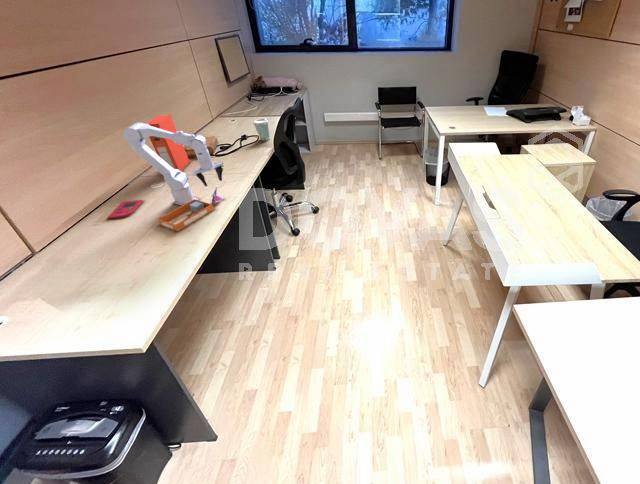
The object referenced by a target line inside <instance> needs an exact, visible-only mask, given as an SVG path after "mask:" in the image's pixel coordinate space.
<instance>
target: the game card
mask: <svg viewBox="0 0 640 484" xmlns="http://www.w3.org/2000/svg"><path fill="white" fill-rule="evenodd" d="M214 188H215V189H214V191H213V193H212V194H211V204H212V206H213V207H214V204H215V201H216V202H220V201H224V198H223V197H222V195H219V194H218V193H217V190H218V187H217V186H216V187H214Z"/></svg>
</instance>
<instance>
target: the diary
mask: <svg viewBox="0 0 640 484" xmlns="http://www.w3.org/2000/svg"><path fill="white" fill-rule="evenodd" d="M204 137H205V139H206V144H205V145H206V146H207V149H208V152H209V154H210V156H211V155H214V154H215V151H216V149H217V147H218V144H219V140H218V138H217V137H216V136H215V135H213V136H204ZM183 147H184V149H185V152H186V154H187V156H188V158H194V157H195V158H197V156H196V153H195V151H194V149H192V148H191V147H190V146H186V145H183Z"/></svg>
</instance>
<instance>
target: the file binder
mask: <svg viewBox="0 0 640 484" xmlns="http://www.w3.org/2000/svg"><path fill="white" fill-rule="evenodd" d="M145 124H148V125H150V126H153V127H156V128H159V129H163V130H166V131H169V132H173V133H175V132H177V131H178V130H177V127H176V125H175V123H174V120H173V117H172V115H171V114H165V115H164V114H163V115H156V116H155V117H153V118H152V119H150V120H148V121H147V122H145ZM148 138H149V140H150V142H151V144H152V146H153V148H154V150H155V153H156V154H157V155H158V156H159V157H160V158H161V159H163V160H164V161H165V162H166V163H167V164H168V165H170V166H171V167H172V168H173V169H178V170H179V171H181V172H182V171H184V169H185V168H186V167H187V166H188V165H189V164H190V159H189V157H188V156H187V154H186V152H185V149H184V145H182V144H178V143H175V142H174V141H173V140H171V139H166V138H161V137H156V136H150V137H148Z"/></svg>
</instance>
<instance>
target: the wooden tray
mask: <svg viewBox="0 0 640 484" xmlns="http://www.w3.org/2000/svg"><path fill="white" fill-rule="evenodd" d="M196 201H197V202H200V203H203V205H204V207H205V208H204V209H202V210H200V211H199V212H197V213H195V212H192V211H191V208H190V206H189V205H190V204H192V203H194V202H196ZM214 210H215V208H214V205H213V206H212V203H208V202H205V201H202V200H196V199H194V200H192V201H190V202H189V203H187V204H185V205H183V206H182V205H180V206H179V207H177V208H175V209H173V210H172V211H170V212H168V213H166V214H164V215H162V216H160V217H158V218H157V222H158V224H159V226H162V227H165V228H167V229H170V230H173V231H176V232H180V230H182V229H184V228H185V227H188V226H189V225H191V224H192V223H194V222H196V221H198V220H200V219H201V218H203V217H204V216H206V215H208V214H210V213H211V212H212V211H214ZM187 215H188V217H186V218H185V219H182V220H181V221H179V222H178V223H176V224H174V222H176V221H177V220H179V219H181V218H183V217H185V216H187Z"/></svg>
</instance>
